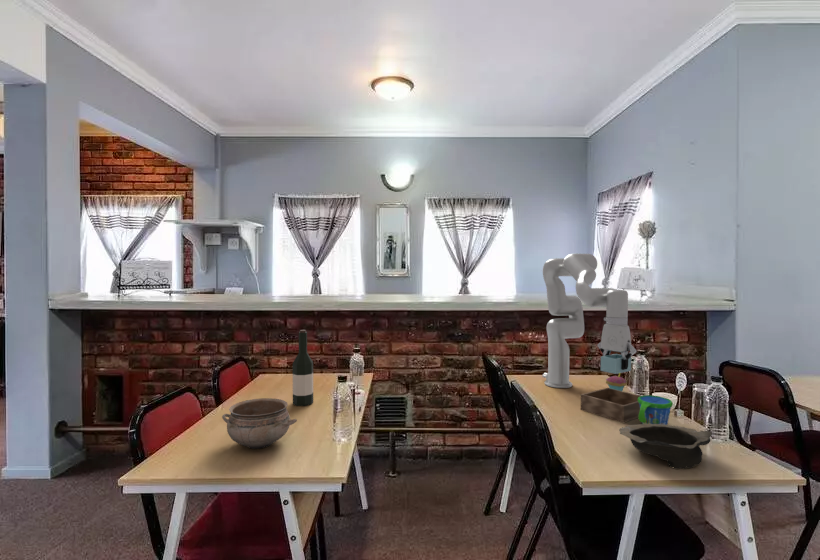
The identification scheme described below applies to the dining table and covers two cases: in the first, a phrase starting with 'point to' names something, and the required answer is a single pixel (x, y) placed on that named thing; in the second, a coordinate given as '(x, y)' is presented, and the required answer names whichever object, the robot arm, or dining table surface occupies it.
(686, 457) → the stone bowl
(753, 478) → the dining table surface
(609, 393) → the big crate
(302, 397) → the wine bottle
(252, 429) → the cooking pot
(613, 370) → the small crate
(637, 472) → the dining table surface
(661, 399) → the snack cup
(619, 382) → the cupcake
